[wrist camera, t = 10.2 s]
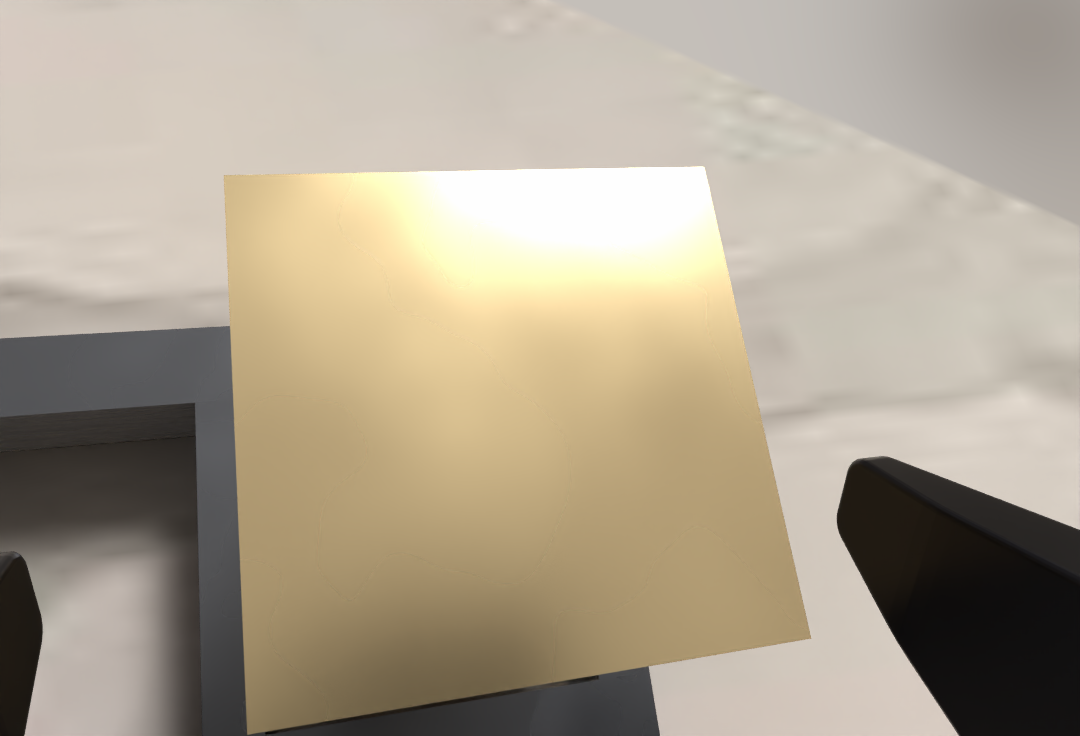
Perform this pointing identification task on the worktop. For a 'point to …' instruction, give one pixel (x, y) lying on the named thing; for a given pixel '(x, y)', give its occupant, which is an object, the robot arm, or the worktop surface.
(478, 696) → the dark gray rack frame
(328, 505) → the brass post
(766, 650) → the worktop surface
